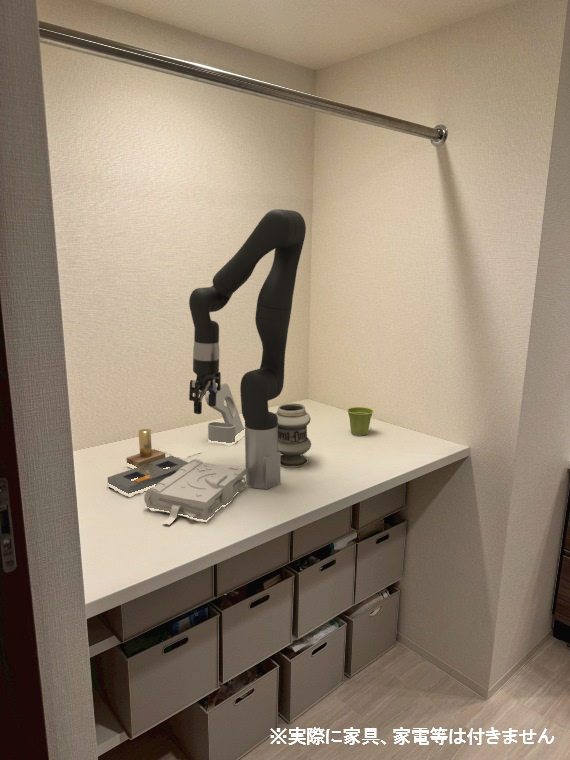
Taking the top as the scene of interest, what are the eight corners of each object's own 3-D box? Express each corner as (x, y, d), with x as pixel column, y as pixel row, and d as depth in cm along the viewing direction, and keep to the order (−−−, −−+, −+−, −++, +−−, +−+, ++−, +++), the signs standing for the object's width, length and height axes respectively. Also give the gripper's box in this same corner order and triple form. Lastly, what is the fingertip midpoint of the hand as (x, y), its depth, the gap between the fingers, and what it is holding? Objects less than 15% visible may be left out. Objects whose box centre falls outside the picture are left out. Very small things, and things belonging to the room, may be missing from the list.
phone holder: (232, 446, 186) (231, 395, 182) (205, 443, 189) (203, 392, 185) (251, 430, 202) (250, 383, 198) (226, 427, 205) (224, 381, 201)
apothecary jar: (264, 461, 173) (264, 406, 169) (291, 451, 181) (291, 399, 177) (292, 471, 165) (292, 414, 160) (318, 461, 173) (319, 406, 169)
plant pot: (345, 428, 204) (346, 406, 202) (370, 429, 204) (371, 406, 202) (347, 437, 195) (348, 414, 193) (373, 437, 195) (374, 414, 193)
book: (131, 519, 136) (129, 491, 134) (190, 477, 161) (189, 453, 159) (199, 536, 129) (198, 506, 127) (249, 489, 154) (249, 463, 153)
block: (165, 462, 172) (165, 453, 171) (138, 471, 164) (137, 462, 164) (154, 457, 175) (153, 448, 175) (127, 466, 168) (126, 457, 167)
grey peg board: (192, 473, 163) (192, 462, 163) (128, 497, 147) (127, 486, 146) (171, 464, 170) (171, 454, 169) (108, 487, 154) (107, 476, 153)
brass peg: (154, 455, 169) (153, 430, 167) (144, 458, 167) (143, 433, 165) (147, 452, 172) (146, 428, 170) (137, 455, 169) (136, 431, 167)
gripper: (205, 363, 151) (204, 418, 155) (229, 354, 164) (227, 405, 168) (181, 359, 153) (181, 414, 158) (207, 350, 166) (206, 401, 171)
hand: (205, 409), depth 163 cm, fingers open, 8 cm apart
